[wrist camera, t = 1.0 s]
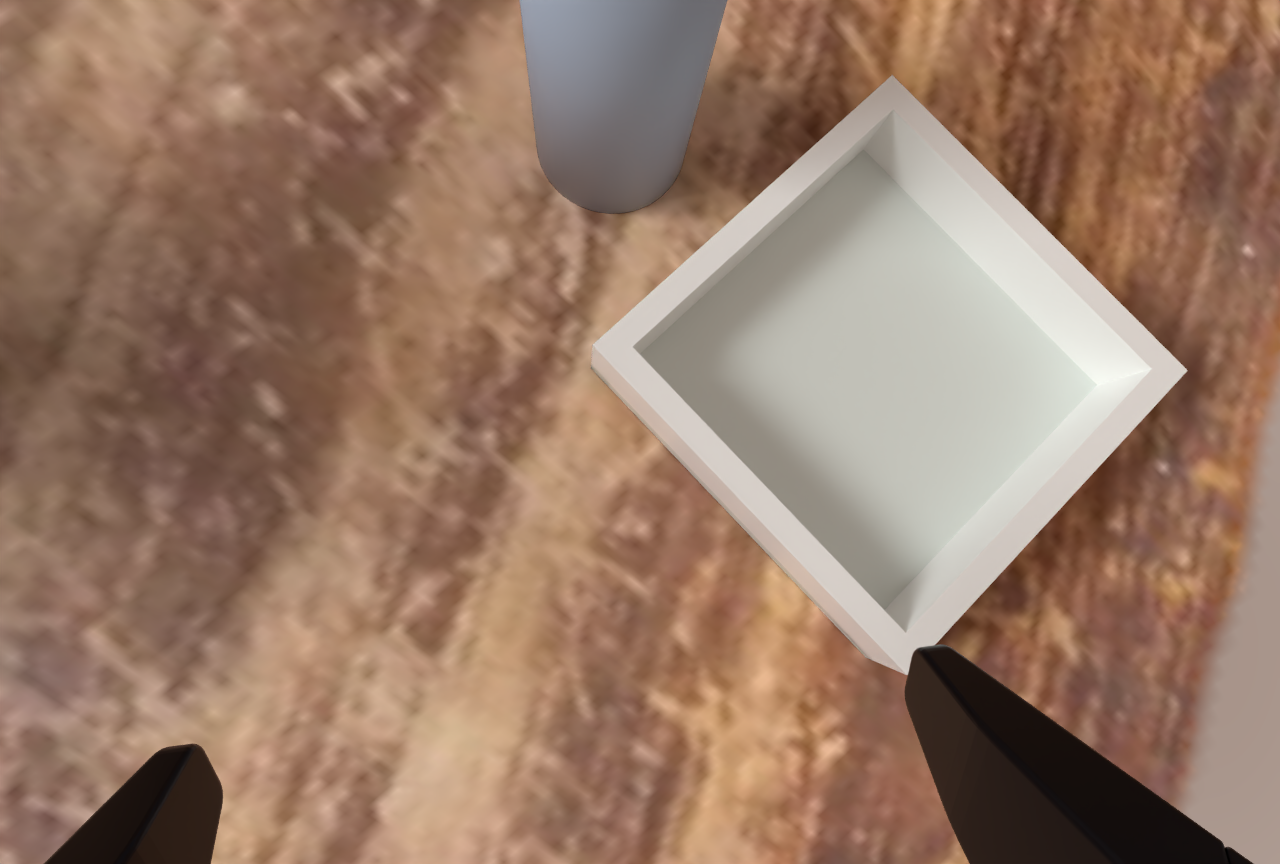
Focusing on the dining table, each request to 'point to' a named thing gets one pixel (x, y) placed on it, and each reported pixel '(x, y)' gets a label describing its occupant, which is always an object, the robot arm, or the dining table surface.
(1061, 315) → the shallow square tray
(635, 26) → the slate capsule
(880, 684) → the dining table surface
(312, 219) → the dining table surface
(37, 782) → the dining table surface
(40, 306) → the dining table surface
